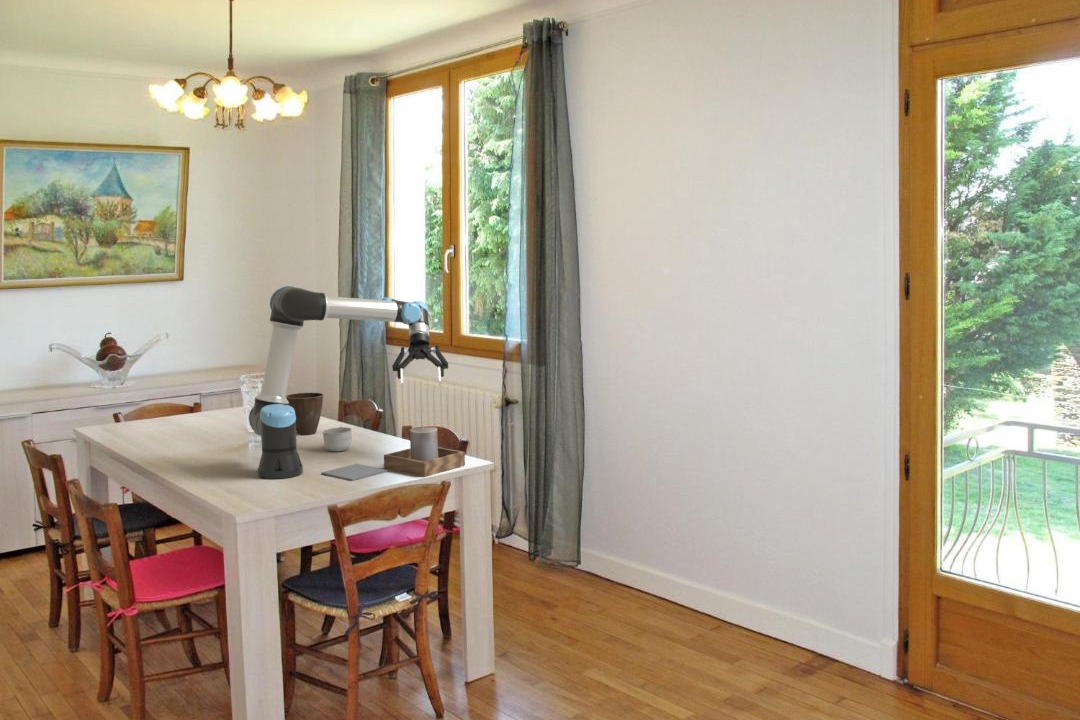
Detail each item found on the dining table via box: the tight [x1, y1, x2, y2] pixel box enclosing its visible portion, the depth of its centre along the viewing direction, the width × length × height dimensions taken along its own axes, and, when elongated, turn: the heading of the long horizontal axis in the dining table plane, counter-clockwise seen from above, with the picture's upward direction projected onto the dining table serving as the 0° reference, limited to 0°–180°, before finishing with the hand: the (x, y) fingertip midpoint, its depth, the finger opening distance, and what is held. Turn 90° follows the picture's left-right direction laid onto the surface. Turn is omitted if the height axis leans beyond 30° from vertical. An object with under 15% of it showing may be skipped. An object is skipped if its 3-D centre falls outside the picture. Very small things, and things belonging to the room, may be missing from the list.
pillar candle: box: [409, 425, 439, 462], centre depth 349 cm, size 10×10×15 cm
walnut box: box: [383, 446, 466, 478], centre depth 350 cm, size 20×20×5 cm
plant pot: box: [286, 392, 324, 436], centre depth 412 cm, size 15×15×16 cm
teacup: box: [322, 426, 353, 452], centre depth 381 cm, size 14×11×8 cm
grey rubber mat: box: [321, 463, 389, 482], centre depth 344 cm, size 16×16×1 cm
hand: (421, 384), depth 358 cm, fingers open, 13 cm apart
